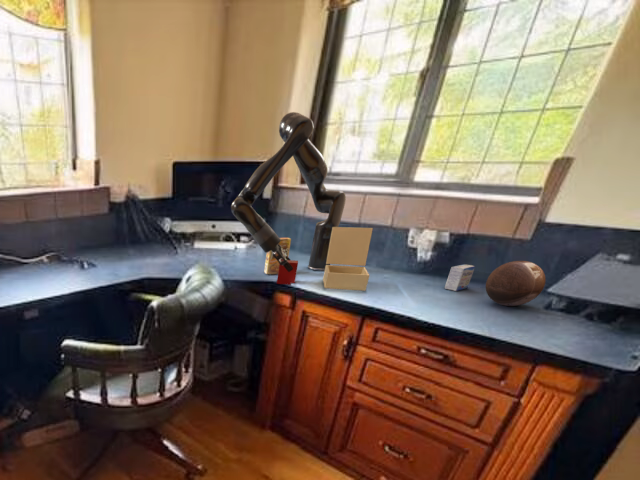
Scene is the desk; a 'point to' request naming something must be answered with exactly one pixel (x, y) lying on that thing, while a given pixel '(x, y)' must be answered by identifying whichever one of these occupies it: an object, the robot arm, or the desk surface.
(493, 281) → the brown wooden egg
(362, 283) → the chest
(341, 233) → the chest lid
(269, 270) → the candy box
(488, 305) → the desk surface
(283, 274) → the red box
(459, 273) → the medicine box
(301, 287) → the desk surface
